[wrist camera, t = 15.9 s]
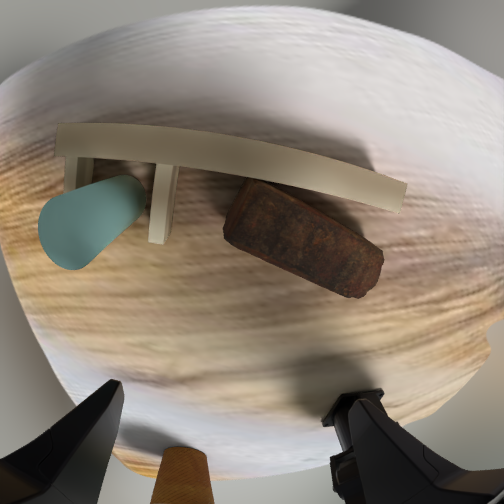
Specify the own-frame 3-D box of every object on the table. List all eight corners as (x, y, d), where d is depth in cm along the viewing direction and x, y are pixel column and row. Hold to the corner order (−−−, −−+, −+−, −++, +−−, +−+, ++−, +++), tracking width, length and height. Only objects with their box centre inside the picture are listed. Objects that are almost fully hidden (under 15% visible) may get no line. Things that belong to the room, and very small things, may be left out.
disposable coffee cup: (231, 455, 31) (236, 525, 20) (192, 470, 33) (192, 530, 22) (175, 434, 28) (169, 515, 17) (141, 451, 30) (132, 516, 19)
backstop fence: (352, 261, 21) (375, 284, 17) (79, 218, 18) (52, 235, 14) (377, 175, 18) (407, 183, 15) (87, 125, 15) (58, 123, 11)
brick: (221, 221, 19) (220, 244, 15) (248, 170, 18) (255, 178, 13) (341, 279, 22) (365, 310, 17) (366, 238, 20) (398, 261, 16)
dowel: (148, 177, 17) (98, 199, 10) (144, 226, 18) (98, 275, 11) (104, 172, 17) (37, 192, 9) (101, 219, 18) (41, 263, 10)
